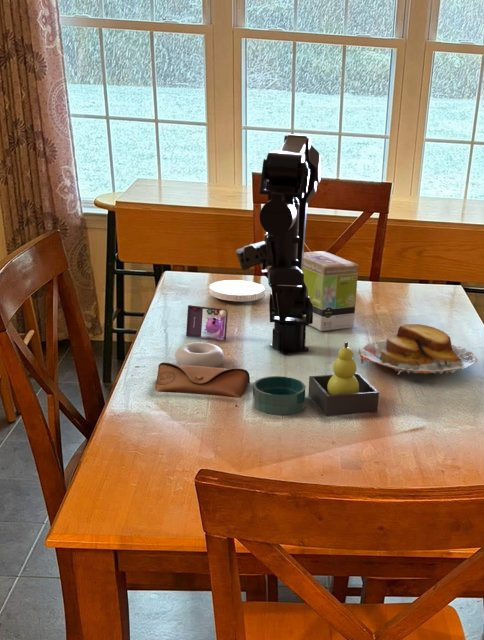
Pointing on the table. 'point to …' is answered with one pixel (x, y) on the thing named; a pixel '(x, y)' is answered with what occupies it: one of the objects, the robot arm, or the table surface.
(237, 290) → the plastic lid
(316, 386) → the bin
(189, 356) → the donut
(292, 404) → the bowl
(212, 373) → the sunglasses case
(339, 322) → the tea box
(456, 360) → the food on plate
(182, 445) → the table surface
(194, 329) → the purple toy box
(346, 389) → the pear
